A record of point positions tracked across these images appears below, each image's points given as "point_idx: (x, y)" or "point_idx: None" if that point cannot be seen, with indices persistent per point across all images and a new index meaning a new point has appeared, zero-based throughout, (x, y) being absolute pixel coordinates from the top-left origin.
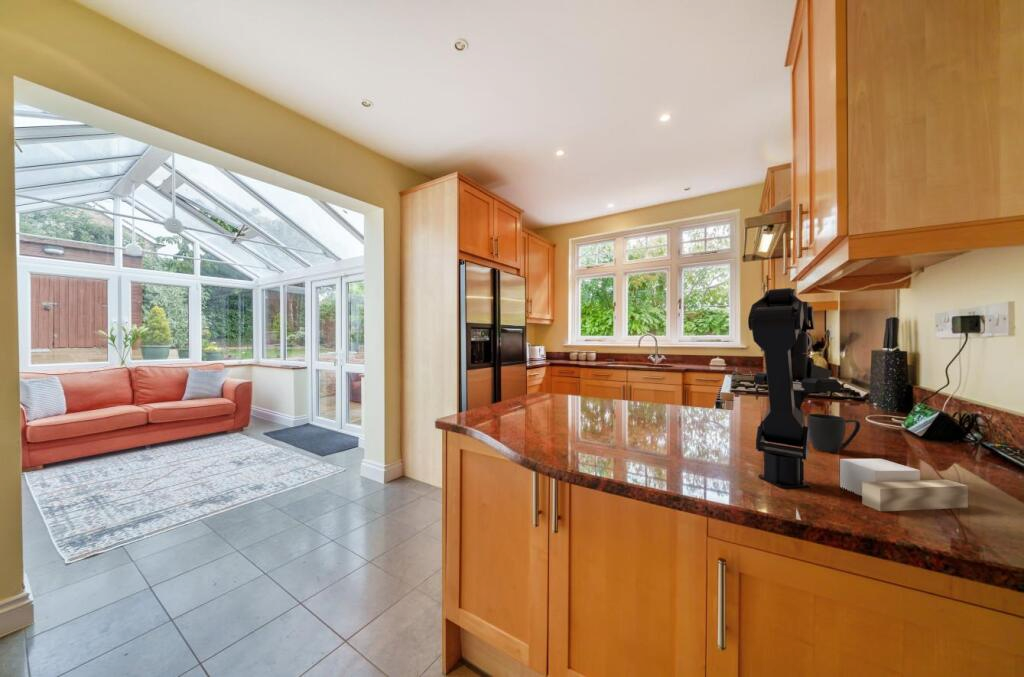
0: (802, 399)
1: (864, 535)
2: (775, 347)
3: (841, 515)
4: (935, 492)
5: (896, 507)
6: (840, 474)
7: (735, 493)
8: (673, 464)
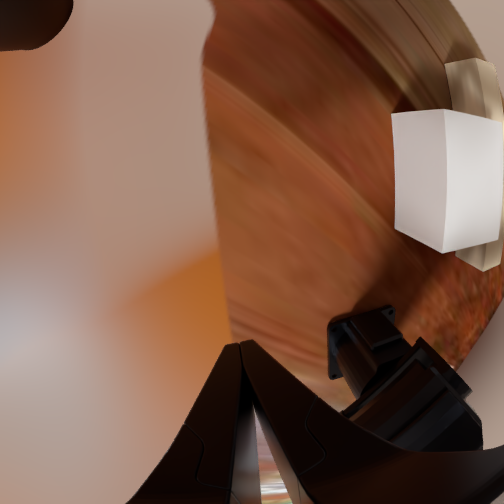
0: (354, 440)
1: (489, 320)
2: None
3: (464, 316)
4: None
5: None
6: (414, 237)
7: None
8: None
